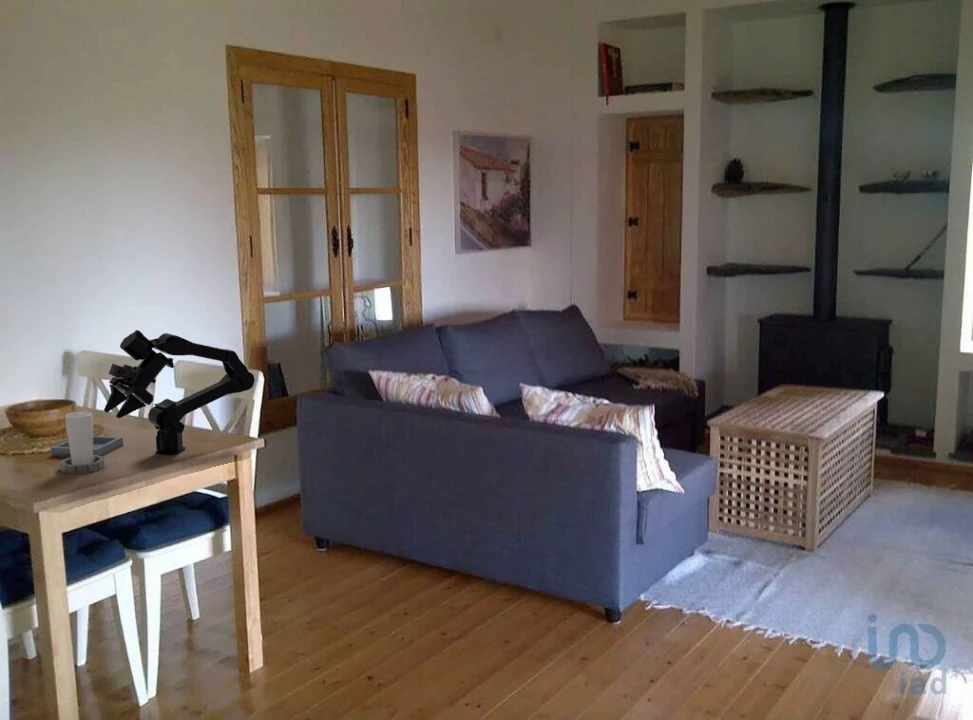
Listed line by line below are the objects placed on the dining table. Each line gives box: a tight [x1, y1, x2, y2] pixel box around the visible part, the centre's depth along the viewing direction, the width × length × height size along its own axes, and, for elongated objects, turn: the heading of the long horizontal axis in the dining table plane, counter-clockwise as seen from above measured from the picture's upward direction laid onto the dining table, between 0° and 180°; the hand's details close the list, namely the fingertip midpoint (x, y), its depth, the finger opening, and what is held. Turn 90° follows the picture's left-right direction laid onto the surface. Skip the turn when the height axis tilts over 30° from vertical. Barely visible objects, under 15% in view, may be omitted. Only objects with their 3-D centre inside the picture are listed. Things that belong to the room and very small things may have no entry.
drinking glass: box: [65, 411, 94, 465], centre depth 257 cm, size 7×7×15 cm
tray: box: [50, 435, 124, 458], centre depth 275 cm, size 14×14×2 cm
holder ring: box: [59, 455, 105, 475], centre depth 259 cm, size 11×11×2 cm
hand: (111, 414), depth 262 cm, fingers open, 9 cm apart
